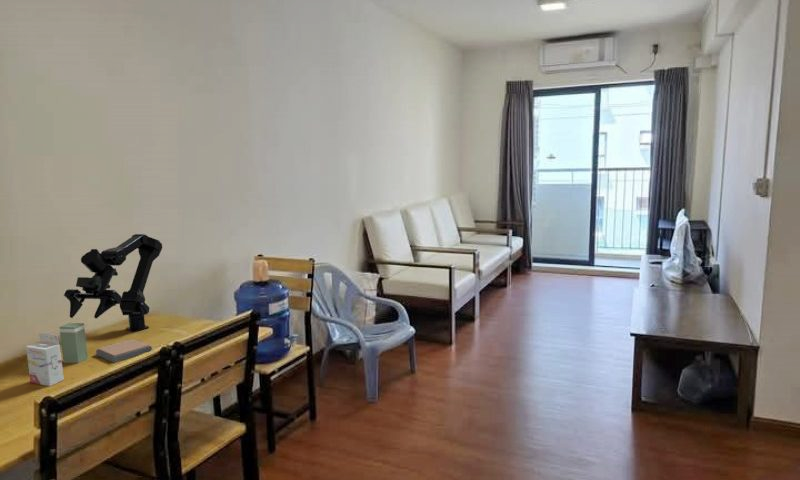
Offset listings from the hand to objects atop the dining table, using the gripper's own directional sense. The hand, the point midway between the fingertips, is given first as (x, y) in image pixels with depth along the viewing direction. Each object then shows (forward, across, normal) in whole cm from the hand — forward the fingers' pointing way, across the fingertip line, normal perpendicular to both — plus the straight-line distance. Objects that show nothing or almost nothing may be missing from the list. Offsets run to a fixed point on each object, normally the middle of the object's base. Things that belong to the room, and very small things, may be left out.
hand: (83, 317), depth 182 cm
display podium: (+8, +12, +11) cm, 18 cm away
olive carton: (+13, 0, +6) cm, 14 cm away
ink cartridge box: (+26, +4, -6) cm, 27 cm away
